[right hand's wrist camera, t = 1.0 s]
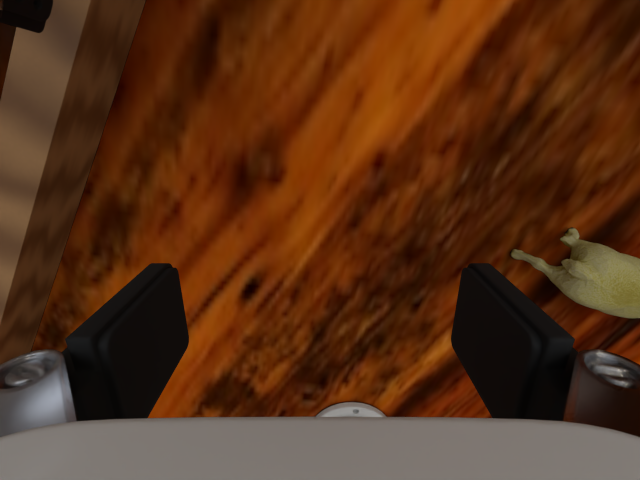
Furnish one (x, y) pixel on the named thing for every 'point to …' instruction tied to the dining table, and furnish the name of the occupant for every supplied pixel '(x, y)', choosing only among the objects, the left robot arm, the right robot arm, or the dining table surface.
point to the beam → (52, 146)
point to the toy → (594, 276)
